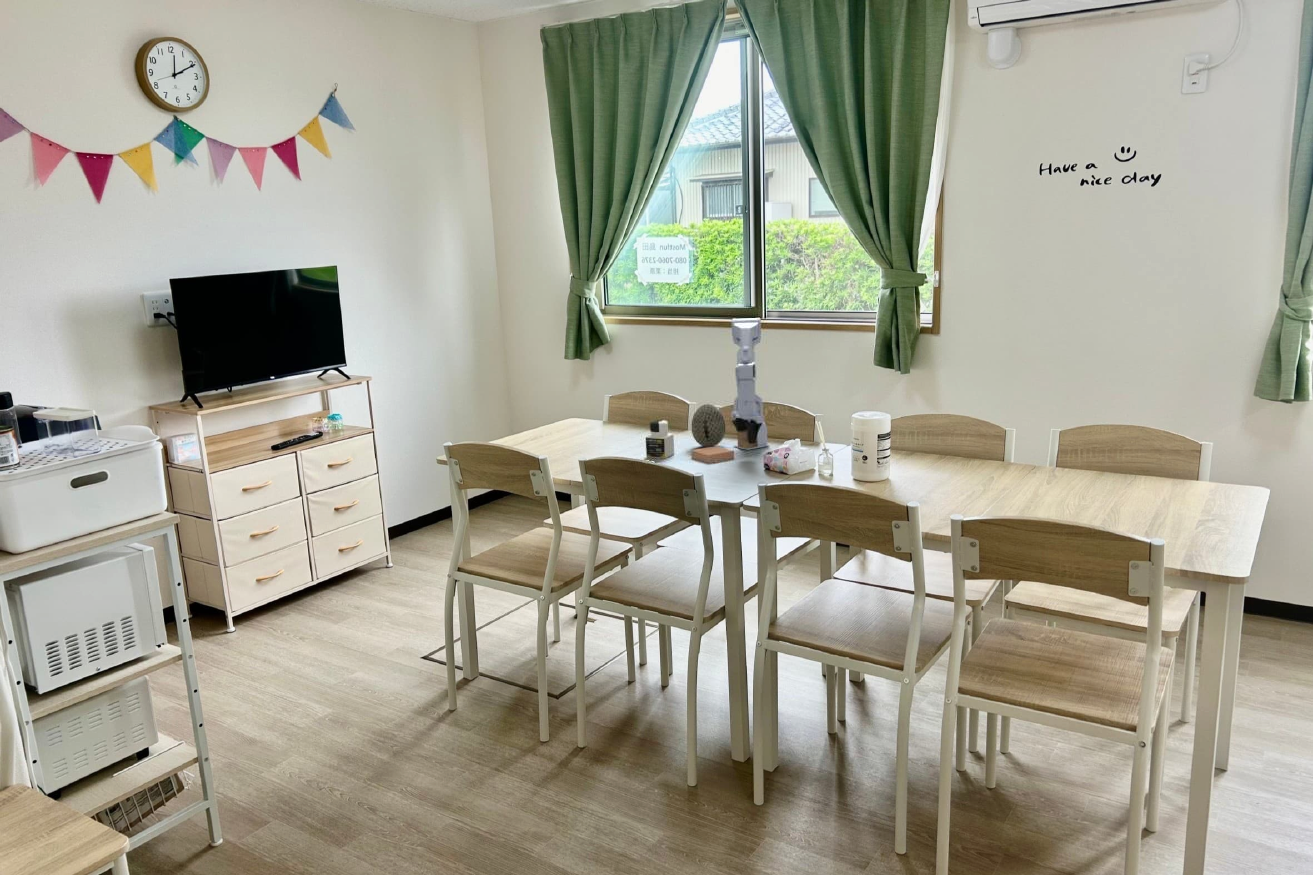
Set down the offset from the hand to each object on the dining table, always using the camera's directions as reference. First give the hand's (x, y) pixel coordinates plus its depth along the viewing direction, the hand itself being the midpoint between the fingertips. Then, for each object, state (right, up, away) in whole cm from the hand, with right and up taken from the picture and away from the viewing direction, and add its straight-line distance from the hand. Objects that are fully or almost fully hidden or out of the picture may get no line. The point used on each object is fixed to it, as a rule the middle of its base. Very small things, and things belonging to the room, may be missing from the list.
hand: (747, 441), depth 310 cm
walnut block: (0, -1, 0) cm, 2 cm away
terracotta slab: (-11, -6, +6) cm, 14 cm away
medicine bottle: (-28, -5, +13) cm, 31 cm away
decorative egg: (-11, -2, +23) cm, 26 cm away
